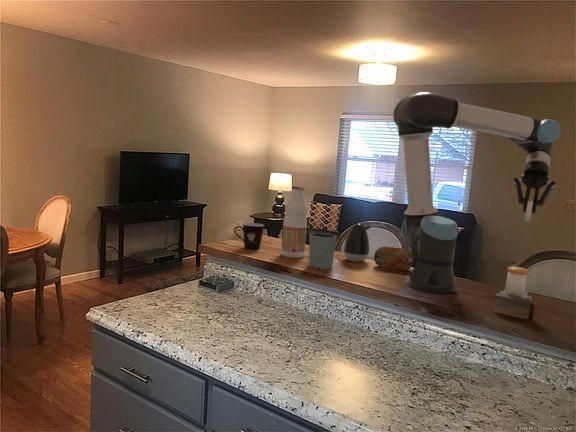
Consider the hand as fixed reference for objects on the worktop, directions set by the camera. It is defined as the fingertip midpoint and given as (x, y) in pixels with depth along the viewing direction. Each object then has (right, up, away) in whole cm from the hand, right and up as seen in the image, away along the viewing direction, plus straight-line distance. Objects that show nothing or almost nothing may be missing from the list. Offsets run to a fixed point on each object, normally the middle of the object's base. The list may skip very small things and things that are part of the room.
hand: (527, 218), depth 154 cm
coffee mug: (-94, -13, +47) cm, 106 cm away
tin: (-37, -19, +31) cm, 52 cm away
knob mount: (-9, -27, -9) cm, 30 cm away
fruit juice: (-75, -15, +39) cm, 86 cm away
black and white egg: (-50, -17, +39) cm, 66 cm away
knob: (-11, -25, -13) cm, 30 cm away
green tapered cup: (-65, -18, +24) cm, 72 cm away
